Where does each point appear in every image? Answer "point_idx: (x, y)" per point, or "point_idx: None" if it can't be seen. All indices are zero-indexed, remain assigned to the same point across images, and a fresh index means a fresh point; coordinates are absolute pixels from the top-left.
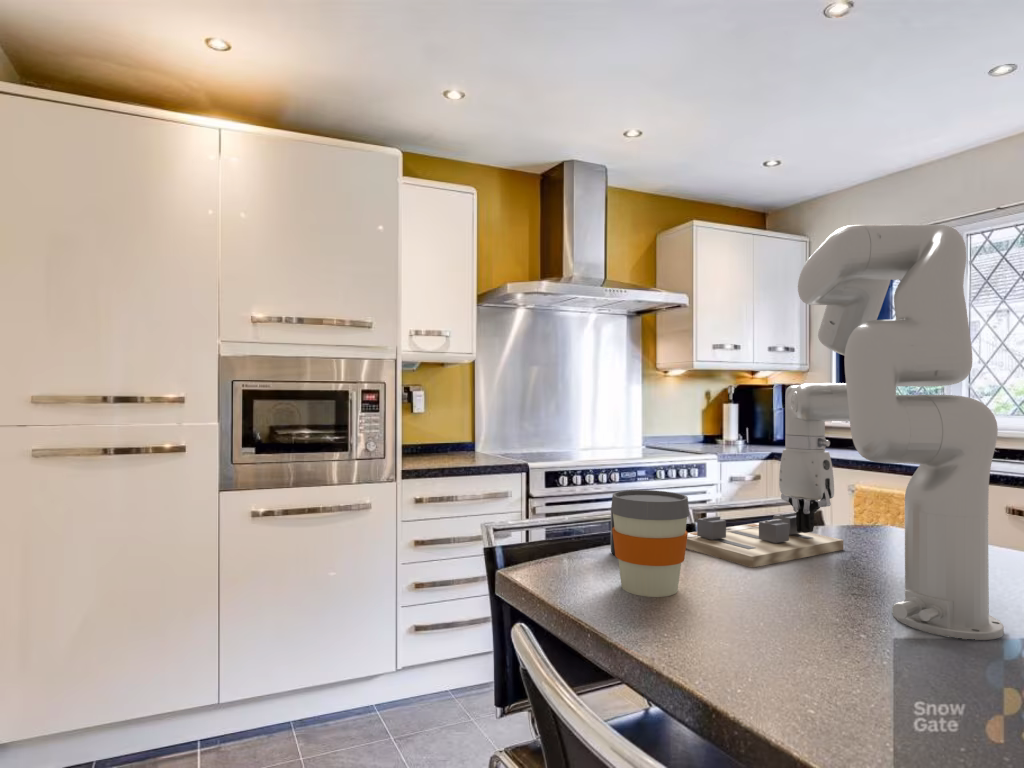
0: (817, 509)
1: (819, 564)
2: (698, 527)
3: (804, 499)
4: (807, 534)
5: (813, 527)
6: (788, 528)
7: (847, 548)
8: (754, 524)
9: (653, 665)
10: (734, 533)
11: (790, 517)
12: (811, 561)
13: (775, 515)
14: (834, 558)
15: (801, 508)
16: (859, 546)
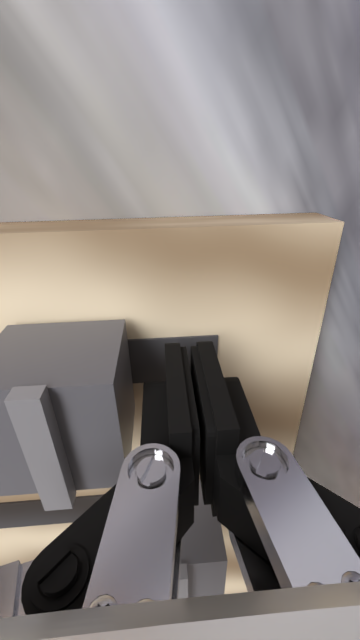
0: (324, 494)
1: (342, 462)
2: None
3: (171, 589)
4: (142, 289)
5: (236, 377)
6: (222, 533)
7: (316, 156)
8: None
9: None
10: (7, 528)
11: (109, 468)
12: (311, 458)
13: (11, 493)
14: (347, 377)
15: (183, 523)
16: (347, 5)
